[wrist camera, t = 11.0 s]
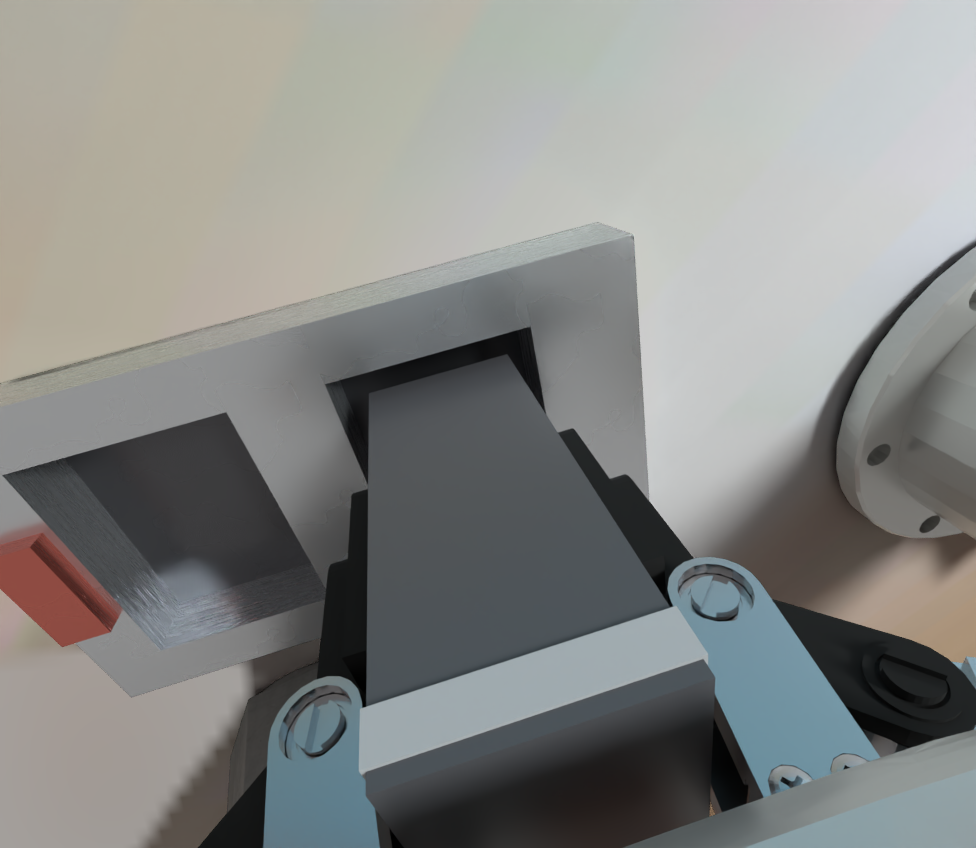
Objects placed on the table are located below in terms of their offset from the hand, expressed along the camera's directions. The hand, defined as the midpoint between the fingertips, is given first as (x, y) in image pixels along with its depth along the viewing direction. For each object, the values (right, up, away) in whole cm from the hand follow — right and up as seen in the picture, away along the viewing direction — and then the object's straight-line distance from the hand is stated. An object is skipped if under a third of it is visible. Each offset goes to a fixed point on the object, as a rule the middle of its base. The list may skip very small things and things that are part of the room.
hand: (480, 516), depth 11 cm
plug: (0, +1, +2) cm, 3 cm away
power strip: (-4, +1, +3) cm, 5 cm away
